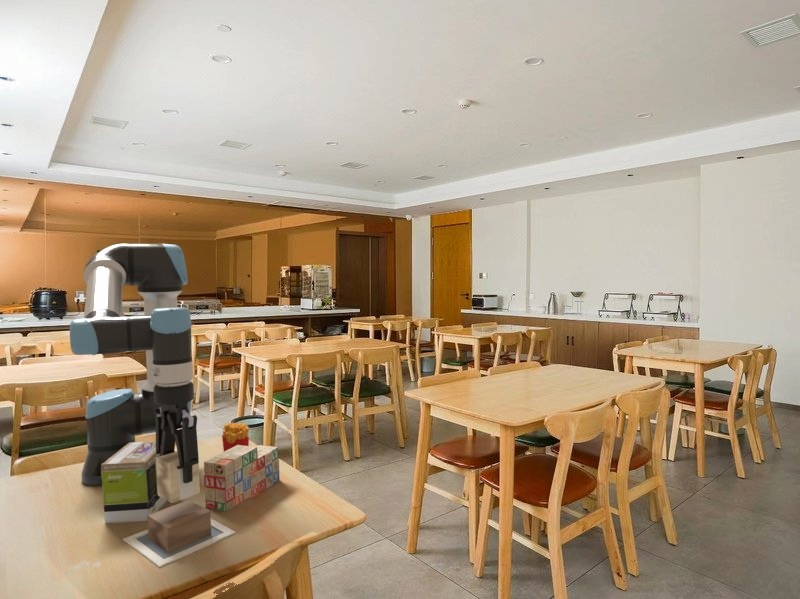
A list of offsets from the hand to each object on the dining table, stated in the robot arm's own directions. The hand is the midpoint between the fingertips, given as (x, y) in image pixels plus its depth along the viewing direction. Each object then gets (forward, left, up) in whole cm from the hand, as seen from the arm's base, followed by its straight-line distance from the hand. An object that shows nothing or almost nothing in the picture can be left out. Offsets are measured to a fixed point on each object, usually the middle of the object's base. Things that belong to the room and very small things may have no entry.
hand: (178, 492), depth 106 cm
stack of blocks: (-9, +22, -11) cm, 26 cm away
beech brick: (0, 0, 0) cm, 0 cm away
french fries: (-26, +30, -11) cm, 41 cm away
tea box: (-21, +1, -11) cm, 24 cm away
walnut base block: (0, 0, -9) cm, 9 cm away
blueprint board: (0, 0, -10) cm, 10 cm away
